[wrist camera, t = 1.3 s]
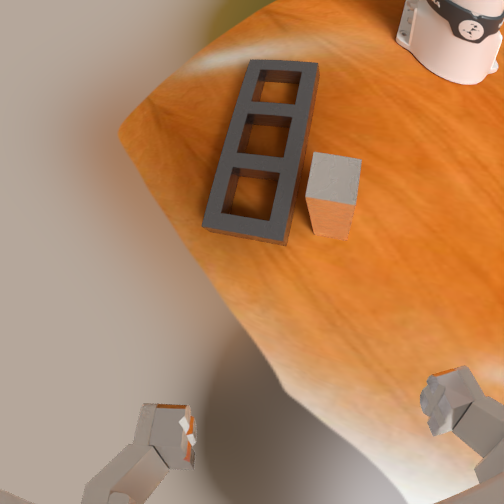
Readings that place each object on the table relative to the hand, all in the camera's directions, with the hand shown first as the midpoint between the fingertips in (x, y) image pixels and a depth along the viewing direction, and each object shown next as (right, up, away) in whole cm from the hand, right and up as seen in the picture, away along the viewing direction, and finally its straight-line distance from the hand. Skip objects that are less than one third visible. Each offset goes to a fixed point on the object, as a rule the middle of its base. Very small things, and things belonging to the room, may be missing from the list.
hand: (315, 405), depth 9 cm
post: (+8, +9, +29) cm, 31 cm away
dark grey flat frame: (0, +19, +32) cm, 37 cm away
